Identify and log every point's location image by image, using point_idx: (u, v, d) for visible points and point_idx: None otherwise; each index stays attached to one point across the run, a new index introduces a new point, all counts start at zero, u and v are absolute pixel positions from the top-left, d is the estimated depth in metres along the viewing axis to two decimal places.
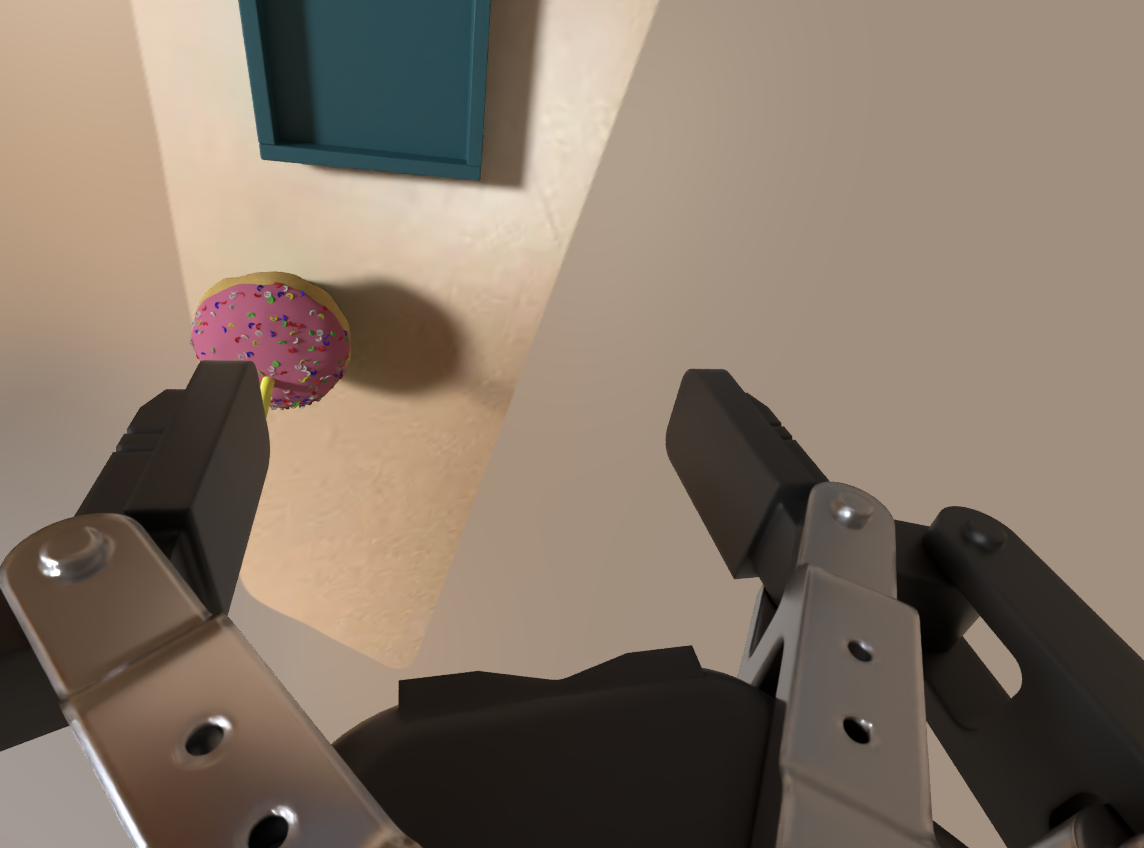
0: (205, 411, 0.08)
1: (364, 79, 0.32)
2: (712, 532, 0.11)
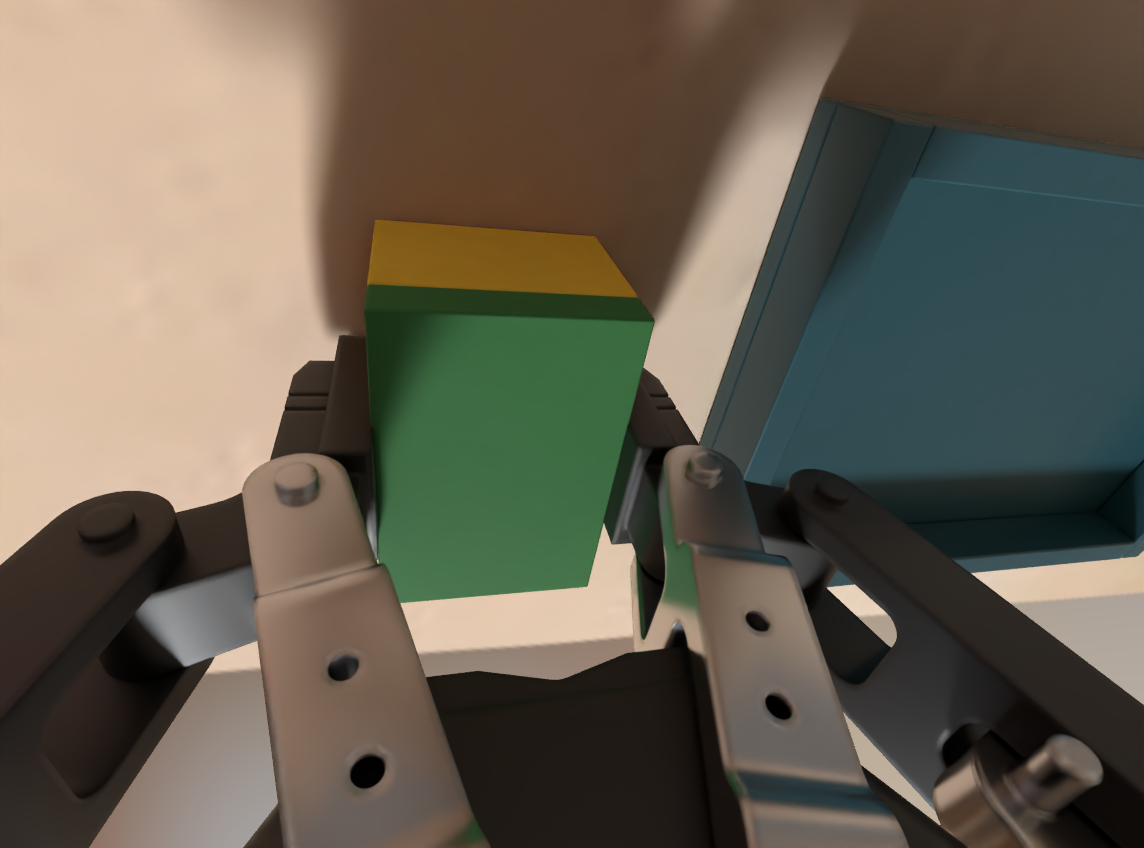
0: (357, 377, 0.10)
1: (1111, 403, 0.17)
2: None
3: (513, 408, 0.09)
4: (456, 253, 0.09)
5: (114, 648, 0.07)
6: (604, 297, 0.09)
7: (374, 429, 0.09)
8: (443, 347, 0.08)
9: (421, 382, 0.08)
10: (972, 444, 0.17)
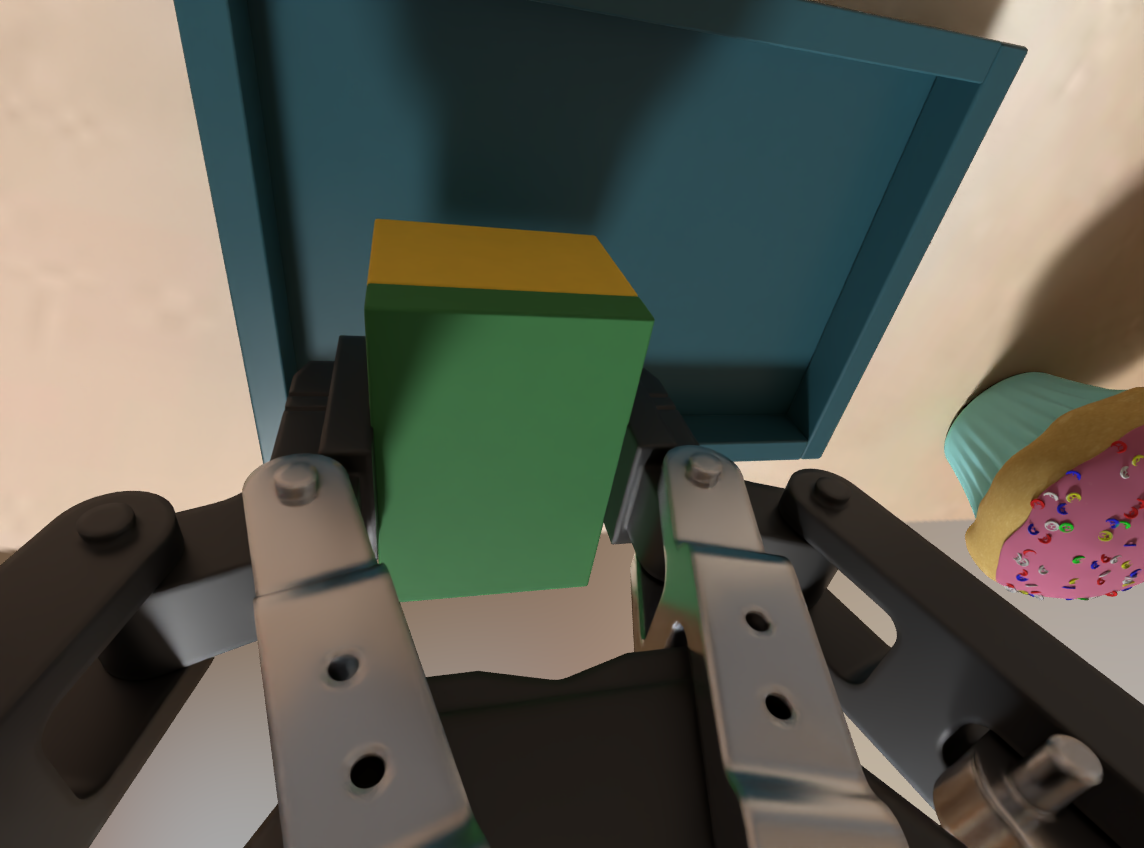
0: (357, 377, 0.10)
1: (736, 282, 0.16)
2: None
3: (514, 408, 0.09)
4: (456, 252, 0.09)
5: (114, 648, 0.07)
6: (604, 296, 0.09)
7: (374, 428, 0.09)
8: (443, 346, 0.08)
9: (421, 381, 0.08)
10: None
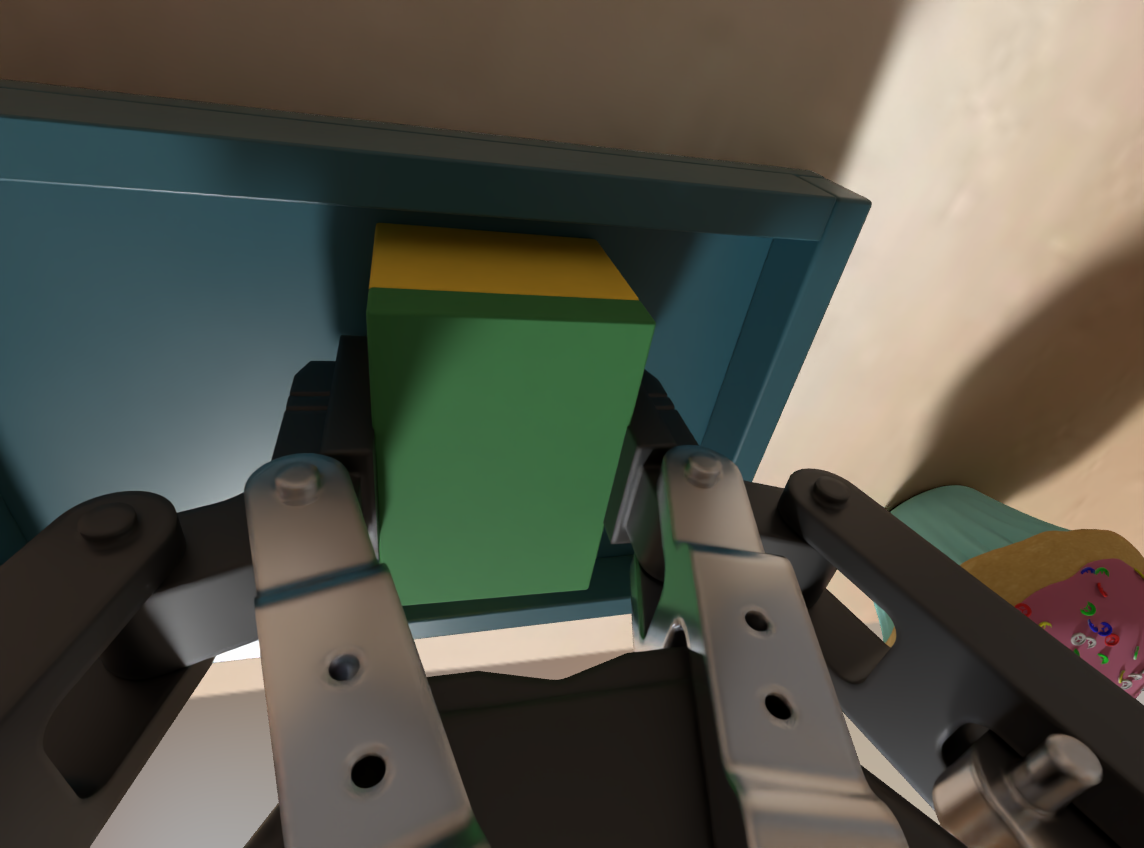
0: (358, 377, 0.10)
1: None
2: None
3: (515, 411, 0.09)
4: (457, 256, 0.09)
5: (115, 648, 0.07)
6: (605, 300, 0.09)
7: (375, 432, 0.09)
8: (445, 350, 0.08)
9: (423, 385, 0.08)
10: None
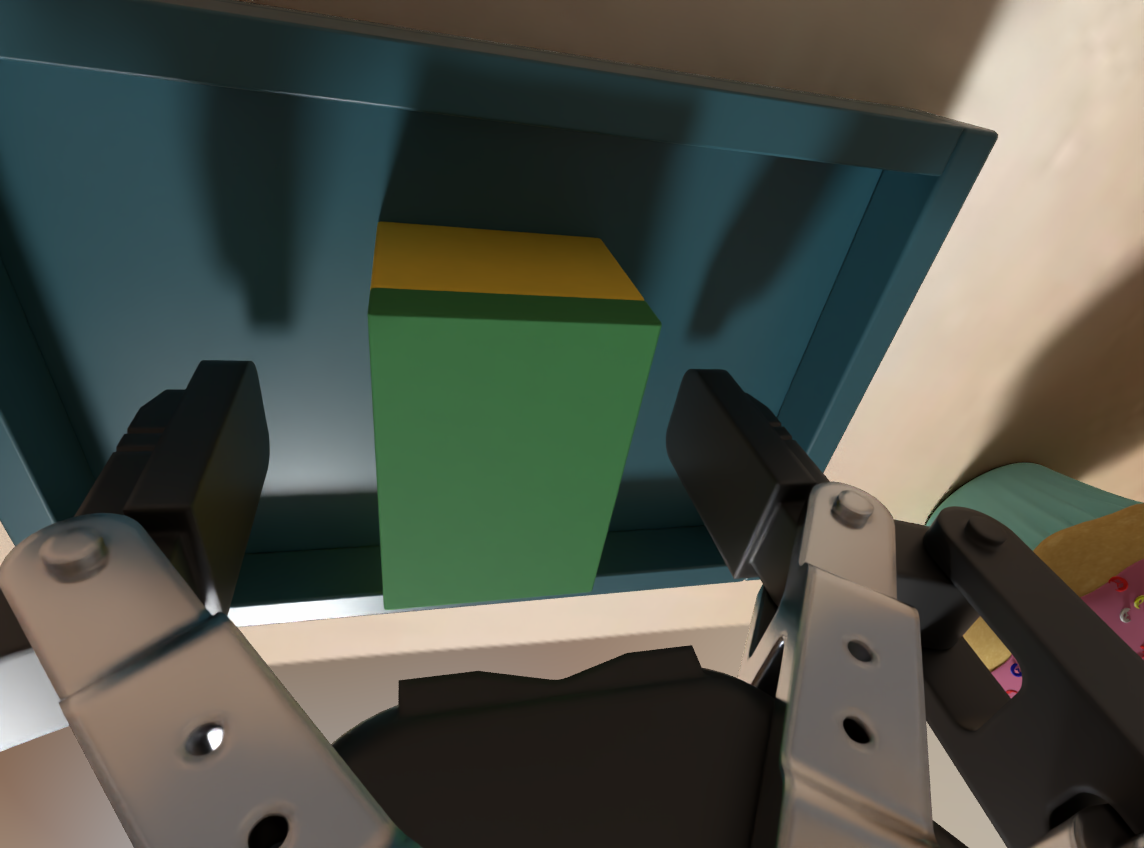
0: (205, 411, 0.08)
1: (655, 392, 0.14)
2: (712, 532, 0.11)
3: (518, 413, 0.09)
4: (460, 255, 0.09)
5: None
6: (610, 300, 0.09)
7: (377, 434, 0.08)
8: (448, 351, 0.08)
9: (425, 387, 0.08)
10: None
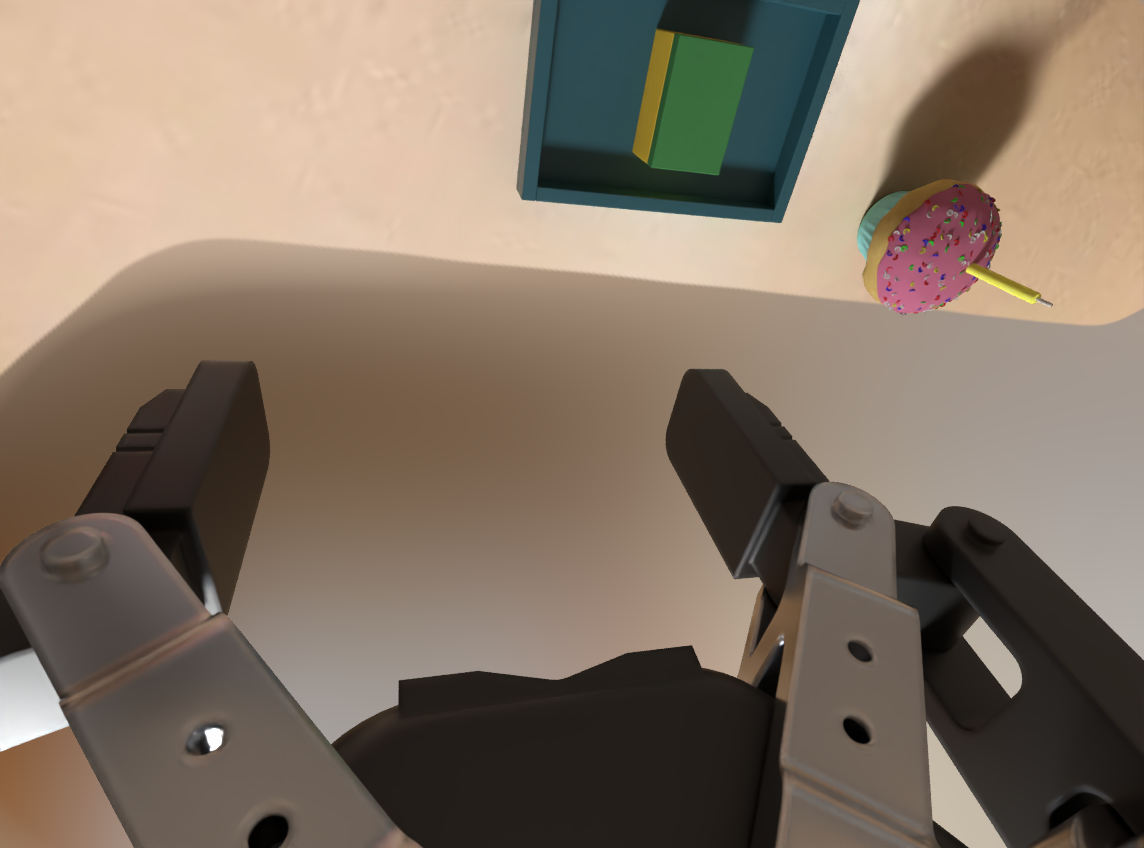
0: (205, 411, 0.08)
1: (737, 117, 0.34)
2: (712, 532, 0.11)
3: (710, 78, 0.29)
4: (688, 34, 0.30)
5: None
6: None
7: (671, 80, 0.29)
8: (696, 50, 0.28)
9: (687, 63, 0.29)
10: None
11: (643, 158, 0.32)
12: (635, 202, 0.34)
